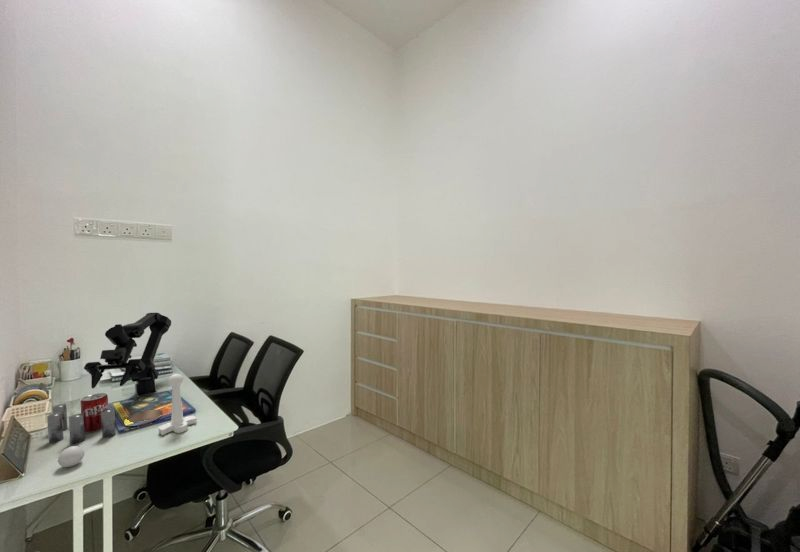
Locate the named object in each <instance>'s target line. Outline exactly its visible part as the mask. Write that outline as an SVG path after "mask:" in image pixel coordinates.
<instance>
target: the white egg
mask: <svg viewBox="0 0 800 552" xmlns="http://www.w3.org/2000/svg"><path fill="white" fill-rule="evenodd" d="M84 457H85V449H84V448H83V446H82V447H81V446H78V445H72V446H69V447H67V448H65V449H64V450H62V452H60V453H59V455H58V456H56V457H55V459H57V462H58V464H59V466H61V467H63V468H72V467H75V466H76V465H77V464H79V463H80V462H81V461H83V459H84Z"/></svg>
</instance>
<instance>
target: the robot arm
mask: <svg viewBox="0 0 800 552" xmlns="http://www.w3.org/2000/svg"><path fill="white" fill-rule="evenodd" d="M171 326H172V320H171V319H170V317H168V316H165V315H164V314H161V313H159V312H148V313H145V315H144V316H143V317H141V318H140V319H138V320H136V321H135V322H133V323H127V324H124V325H122V324H120V323H119V324H115V325H114V326H113V327H112V326H111V327H110V328H108V330H106V331H105V333H104V336H105V337H106V338H107V339H108V341H109V342H111V344H113V346H115V347H114V349H105V350H102V351H101V353H100V358H99V359H100V360H104V362H105V363H107V364H102V363H101V362H100V361H89V362H86V363H85V365H84V367H83V370H85V371H86V372H87V373H88V374H90V375H91V384H90V385H91V389H95V388H96V387H97V385H98V383H99V382H100V381H101V379H102V377H103V375H104V374H103V373H104V372H105V371H106V370H118V369H120V370H121V369H124V370H125V371H124V373H123V375H122V377H121V379H120V382H119V387H122V386H124V385H125V384H126V383H127V382H128V381H129V380H131V381H132V383H135V384H134V392H135V394H137V396H139V397H141V396H145V395H148V394H153V393H157V389H156V386H155V385H156V383H155V382H156V379H158V378H159V374H160V373H159V371H158V370H157V368H156V365H155V362H154V360H155V358H156V354H157V351H158V348H159V346H160V343H161V339H162V337H163V335H165V334H166V333H167V332H168V331H169V329H170V327H171ZM147 328H149V330H150V335H149V336H148V339H147V342H146V344H145V347H144V350H143V353H142V355H141V358H133V359H132V355H131V354H132V352H133V349H134V348H137V347H138V345H137V342H136V340H135V339H140V338H141V337H143V335H144V334H145V330H146V329H147Z"/></svg>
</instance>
